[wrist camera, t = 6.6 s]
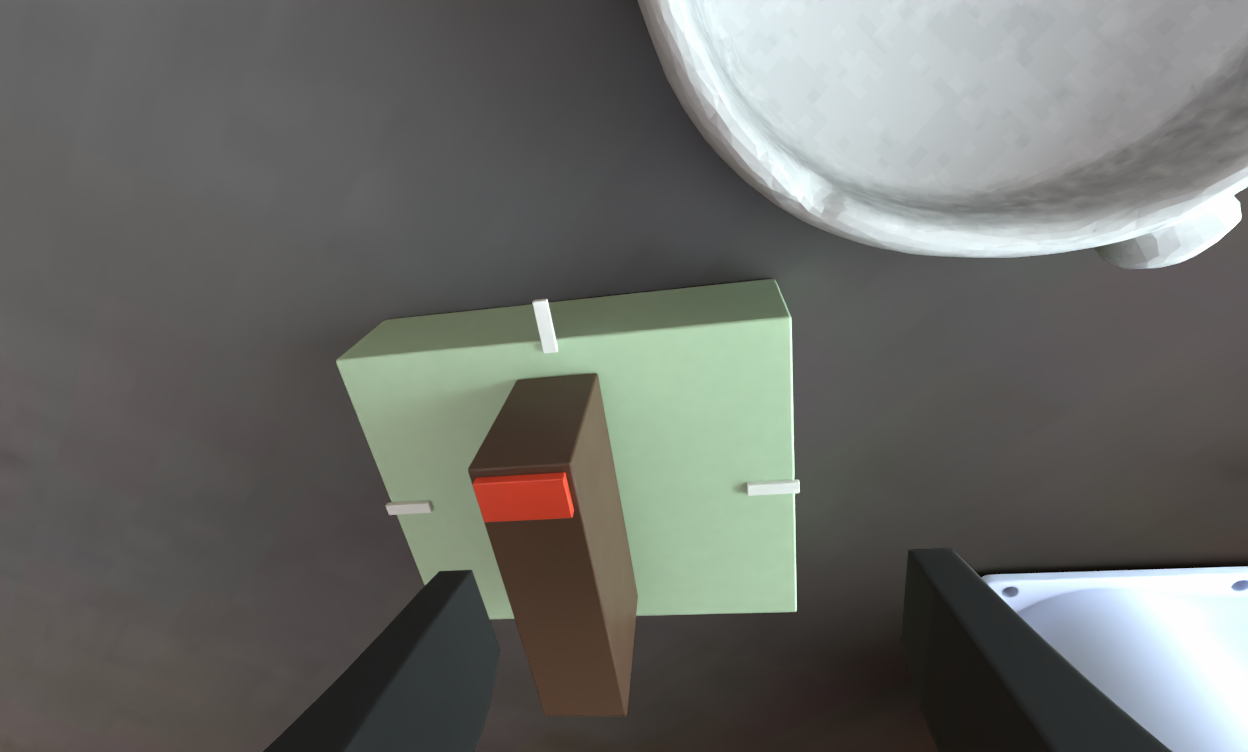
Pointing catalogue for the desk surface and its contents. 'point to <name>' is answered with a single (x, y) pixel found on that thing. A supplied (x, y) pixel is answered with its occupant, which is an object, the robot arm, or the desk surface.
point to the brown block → (561, 541)
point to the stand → (637, 425)
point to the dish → (976, 118)
